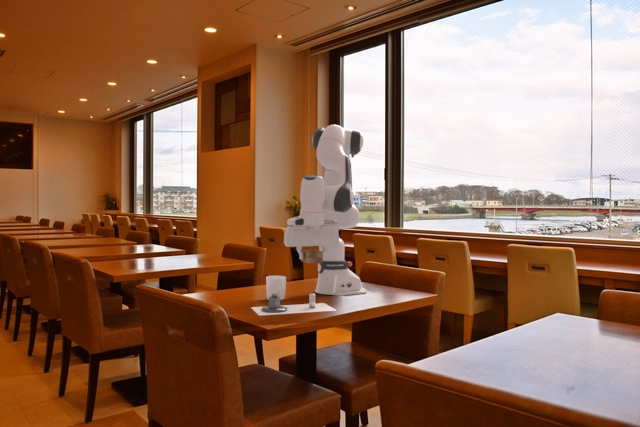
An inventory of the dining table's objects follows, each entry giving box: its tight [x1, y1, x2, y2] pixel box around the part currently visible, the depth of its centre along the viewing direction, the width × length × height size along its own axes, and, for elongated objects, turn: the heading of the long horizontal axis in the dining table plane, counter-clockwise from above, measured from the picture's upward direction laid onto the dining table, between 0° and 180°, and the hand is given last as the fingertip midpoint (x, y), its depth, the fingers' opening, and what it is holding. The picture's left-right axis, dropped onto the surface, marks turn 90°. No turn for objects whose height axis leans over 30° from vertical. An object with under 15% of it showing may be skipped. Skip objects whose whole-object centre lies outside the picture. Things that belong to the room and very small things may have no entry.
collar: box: [300, 249, 323, 264], centre depth 184 cm, size 6×6×4 cm
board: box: [250, 302, 338, 317], centre depth 183 cm, size 28×14×2 cm, turn 109°
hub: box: [261, 294, 287, 313], centre depth 180 cm, size 9×9×6 cm
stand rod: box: [308, 293, 316, 308], centre depth 185 cm, size 2×2×5 cm
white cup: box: [265, 275, 287, 301], centre depth 202 cm, size 8×8×10 cm
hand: (311, 258), depth 184 cm, fingers closed on collar, 6 cm apart
